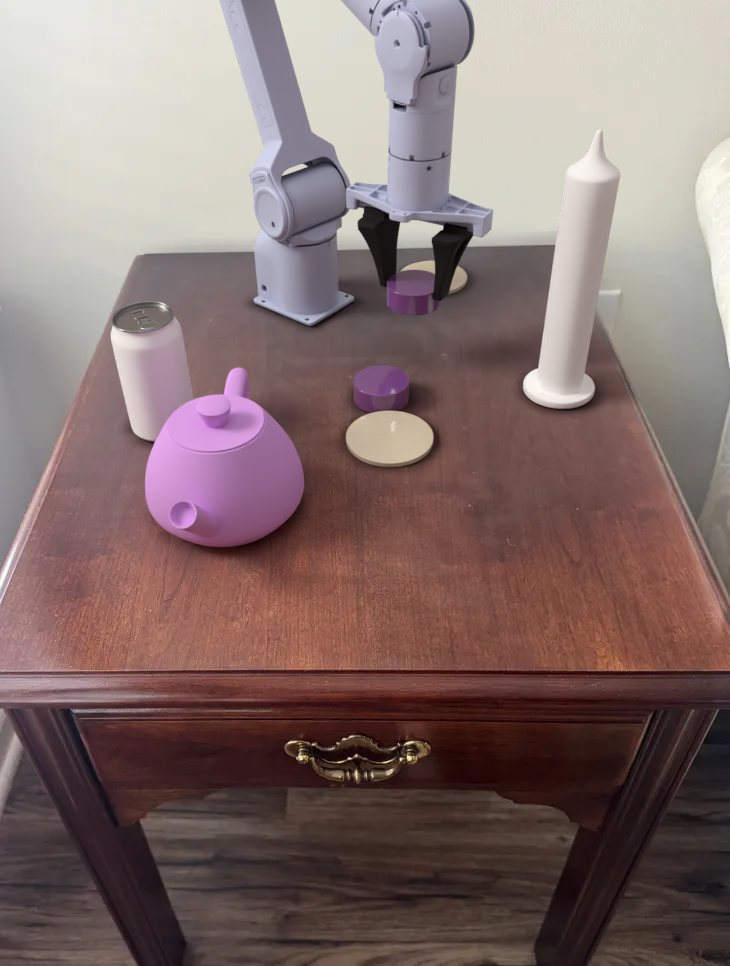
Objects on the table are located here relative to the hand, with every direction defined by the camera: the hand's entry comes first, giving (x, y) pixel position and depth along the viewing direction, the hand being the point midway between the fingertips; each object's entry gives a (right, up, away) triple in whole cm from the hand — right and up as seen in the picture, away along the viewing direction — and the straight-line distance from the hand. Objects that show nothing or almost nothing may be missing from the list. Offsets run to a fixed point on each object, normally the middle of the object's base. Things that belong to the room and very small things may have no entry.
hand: (413, 289), depth 86 cm
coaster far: (+4, +7, +19) cm, 20 cm away
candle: (+15, -10, +1) cm, 18 cm away
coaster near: (-3, -16, -5) cm, 17 cm away
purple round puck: (0, -1, +1) cm, 1 cm away
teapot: (-18, -23, -11) cm, 31 cm away
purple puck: (-3, -11, +1) cm, 11 cm away
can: (-25, -14, -1) cm, 29 cm away
